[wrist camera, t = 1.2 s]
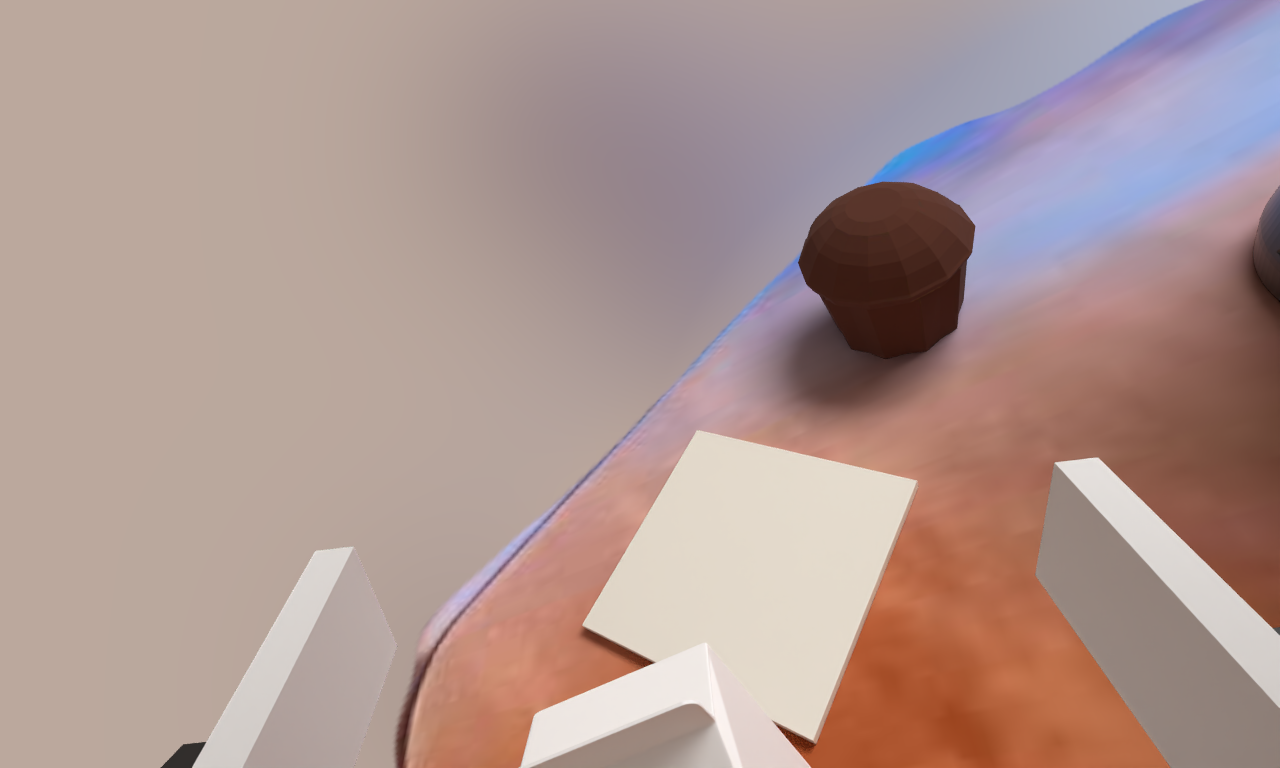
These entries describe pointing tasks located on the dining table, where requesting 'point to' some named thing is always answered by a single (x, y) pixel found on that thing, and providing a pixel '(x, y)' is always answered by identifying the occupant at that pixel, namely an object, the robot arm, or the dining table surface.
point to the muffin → (890, 266)
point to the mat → (758, 570)
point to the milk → (662, 722)
